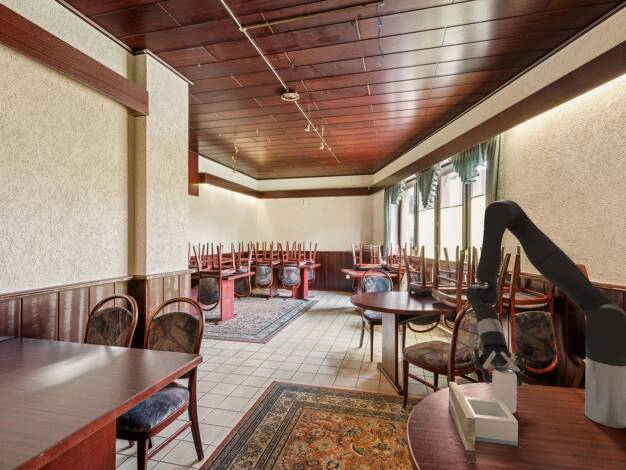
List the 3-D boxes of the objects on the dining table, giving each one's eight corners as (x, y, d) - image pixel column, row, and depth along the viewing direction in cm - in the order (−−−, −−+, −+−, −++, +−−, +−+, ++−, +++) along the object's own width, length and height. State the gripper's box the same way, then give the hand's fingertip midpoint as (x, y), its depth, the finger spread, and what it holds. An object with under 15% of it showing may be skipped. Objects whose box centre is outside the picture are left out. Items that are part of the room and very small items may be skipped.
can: (520, 415, 97) (521, 374, 97) (498, 414, 97) (499, 373, 97) (508, 403, 104) (509, 365, 104) (487, 403, 104) (488, 365, 104)
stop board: (455, 408, 100) (455, 382, 100) (474, 451, 81) (475, 418, 81) (448, 407, 101) (448, 381, 101) (465, 449, 81) (466, 417, 81)
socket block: (501, 421, 94) (501, 400, 94) (517, 445, 83) (518, 421, 83) (460, 416, 96) (460, 396, 96) (470, 439, 85) (471, 416, 85)
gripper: (471, 328, 111) (481, 377, 99) (518, 331, 108) (533, 382, 97) (466, 339, 116) (475, 386, 105) (511, 342, 113) (525, 391, 102)
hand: (503, 384), depth 101 cm, fingers open, 8 cm apart
